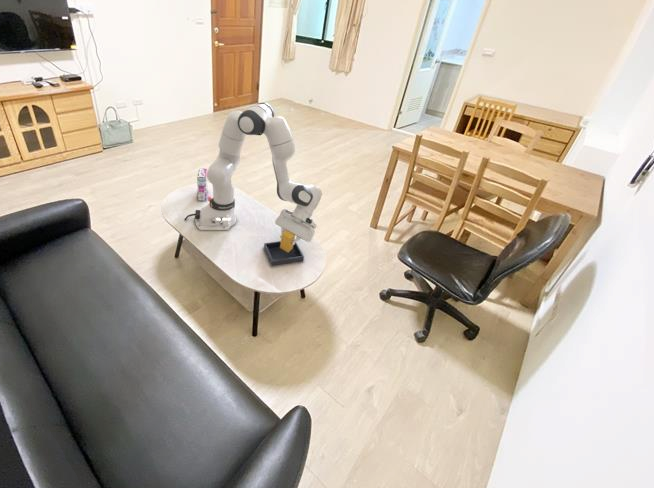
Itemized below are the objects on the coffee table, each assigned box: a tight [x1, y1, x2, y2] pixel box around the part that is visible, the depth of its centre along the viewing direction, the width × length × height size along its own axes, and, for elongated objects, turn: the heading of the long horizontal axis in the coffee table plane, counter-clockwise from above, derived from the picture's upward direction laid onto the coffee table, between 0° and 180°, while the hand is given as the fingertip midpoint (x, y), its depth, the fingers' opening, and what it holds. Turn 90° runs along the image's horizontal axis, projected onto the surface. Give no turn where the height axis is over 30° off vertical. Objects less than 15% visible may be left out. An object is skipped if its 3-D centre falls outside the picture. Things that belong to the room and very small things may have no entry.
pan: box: [263, 238, 305, 267], centre depth 166 cm, size 16×13×4 cm
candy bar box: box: [196, 168, 208, 202], centre depth 199 cm, size 11×5×16 cm, turn 5°
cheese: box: [280, 230, 296, 252], centre depth 161 cm, size 5×4×9 cm
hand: (286, 241), depth 160 cm, fingers closed on cheese, 5 cm apart
